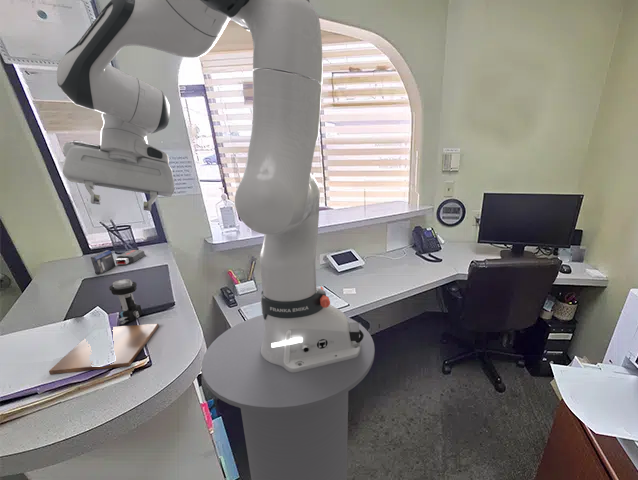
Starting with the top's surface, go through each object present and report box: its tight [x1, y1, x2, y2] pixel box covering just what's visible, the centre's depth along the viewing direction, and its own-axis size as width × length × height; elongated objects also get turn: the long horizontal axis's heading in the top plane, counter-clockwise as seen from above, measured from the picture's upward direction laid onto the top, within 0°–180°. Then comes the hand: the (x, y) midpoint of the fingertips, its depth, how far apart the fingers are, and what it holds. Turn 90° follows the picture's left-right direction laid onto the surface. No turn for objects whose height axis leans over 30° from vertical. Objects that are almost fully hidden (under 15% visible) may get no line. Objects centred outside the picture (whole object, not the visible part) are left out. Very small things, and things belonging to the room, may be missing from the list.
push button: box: [108, 278, 143, 325], centre depth 77 cm, size 7×5×10 cm
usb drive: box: [114, 249, 146, 265], centre depth 119 cm, size 5×12×3 cm, turn 11°
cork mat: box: [48, 323, 160, 375], centre depth 67 cm, size 13×16×1 cm
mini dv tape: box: [90, 249, 116, 275], centre depth 107 cm, size 8×2×6 cm, turn 9°
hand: (122, 206), depth 72 cm, fingers open, 8 cm apart
